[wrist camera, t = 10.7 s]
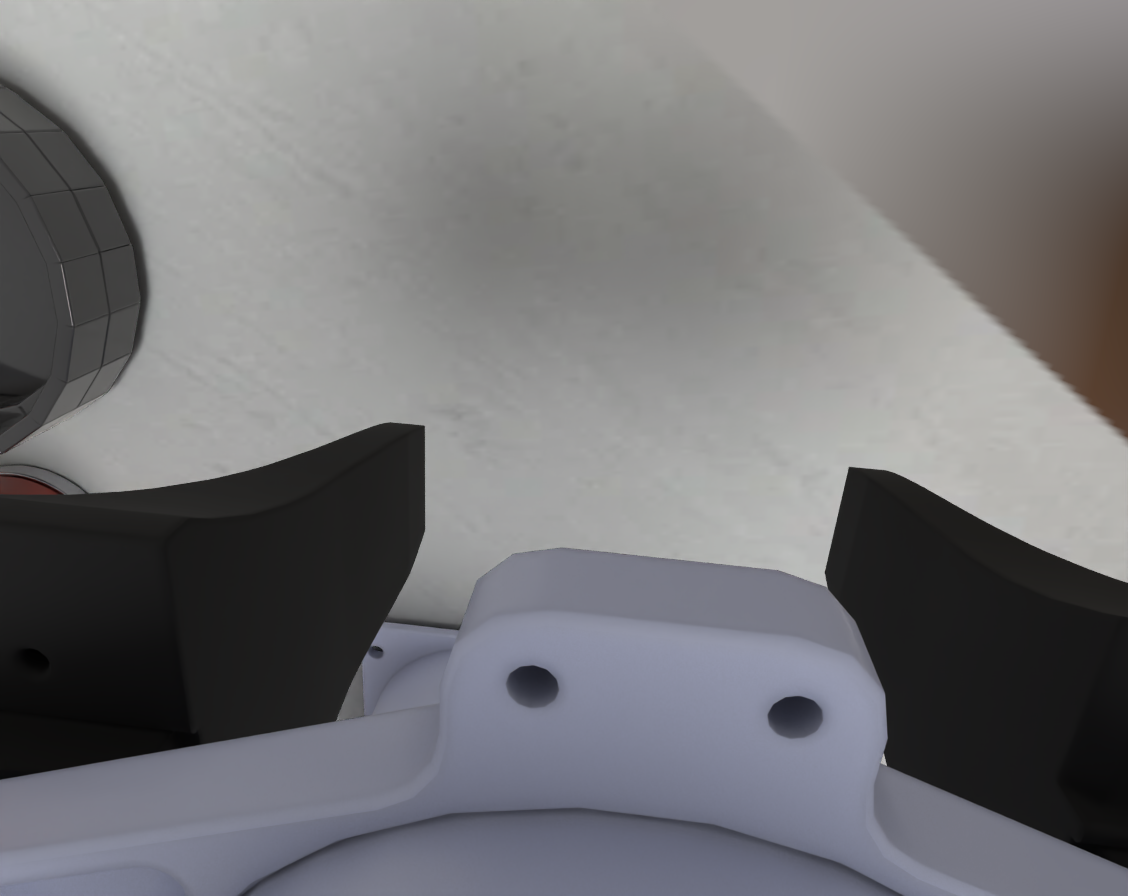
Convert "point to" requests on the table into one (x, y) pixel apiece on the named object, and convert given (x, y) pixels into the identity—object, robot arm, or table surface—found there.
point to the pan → (57, 278)
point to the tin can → (34, 482)
